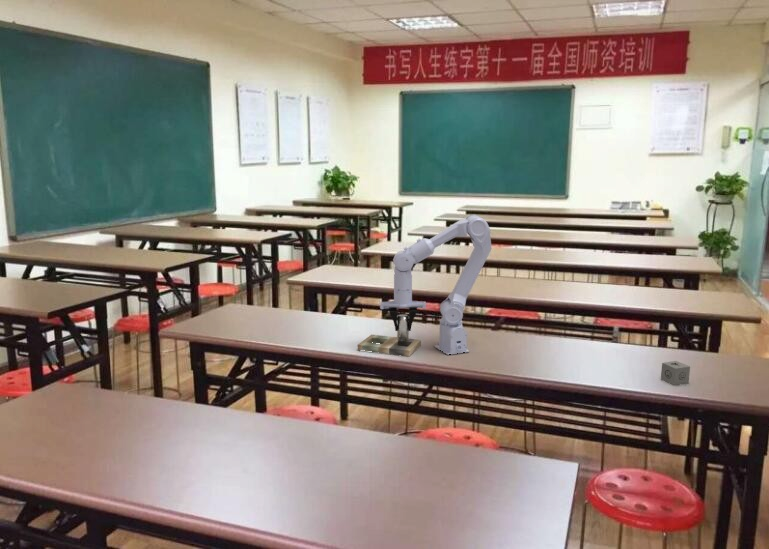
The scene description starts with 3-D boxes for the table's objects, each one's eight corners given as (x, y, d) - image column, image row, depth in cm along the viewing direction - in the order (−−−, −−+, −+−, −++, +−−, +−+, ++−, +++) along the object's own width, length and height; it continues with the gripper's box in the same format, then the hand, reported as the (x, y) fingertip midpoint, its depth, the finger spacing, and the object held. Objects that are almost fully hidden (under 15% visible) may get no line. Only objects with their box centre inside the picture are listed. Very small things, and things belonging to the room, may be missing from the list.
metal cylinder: (410, 340, 201) (410, 316, 199) (400, 342, 200) (400, 317, 198) (405, 337, 204) (405, 313, 203) (395, 338, 203) (395, 315, 201)
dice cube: (674, 377, 178) (676, 360, 177) (688, 383, 173) (690, 366, 172) (660, 379, 176) (662, 362, 175) (674, 385, 171) (676, 368, 170)
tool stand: (420, 345, 207) (420, 339, 206) (409, 356, 196) (409, 350, 195) (371, 340, 213) (371, 334, 212) (357, 350, 202) (357, 344, 201)
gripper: (380, 292, 195) (380, 333, 197) (426, 291, 195) (426, 333, 197) (380, 287, 202) (380, 327, 204) (425, 286, 202) (424, 327, 204)
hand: (402, 330), depth 201 cm, fingers closed on metal cylinder, 4 cm apart
